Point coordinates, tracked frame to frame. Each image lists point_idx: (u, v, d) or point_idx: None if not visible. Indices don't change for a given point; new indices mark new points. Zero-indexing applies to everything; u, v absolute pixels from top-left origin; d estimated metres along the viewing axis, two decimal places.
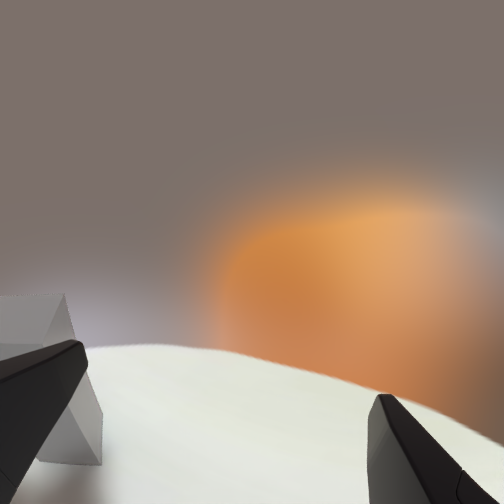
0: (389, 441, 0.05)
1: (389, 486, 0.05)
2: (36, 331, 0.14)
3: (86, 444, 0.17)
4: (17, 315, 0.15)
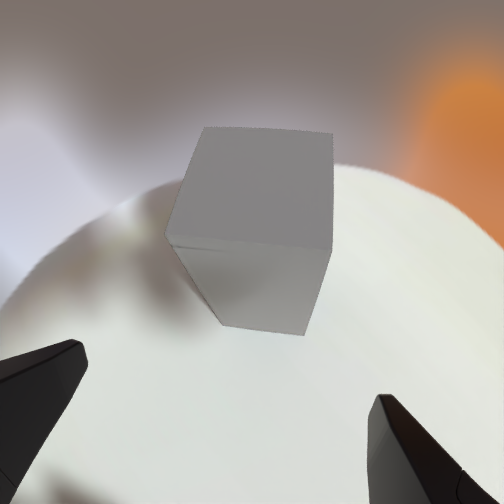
0: (389, 441, 0.05)
1: (389, 486, 0.05)
2: (310, 217, 0.11)
3: (304, 324, 0.19)
4: (258, 173, 0.12)
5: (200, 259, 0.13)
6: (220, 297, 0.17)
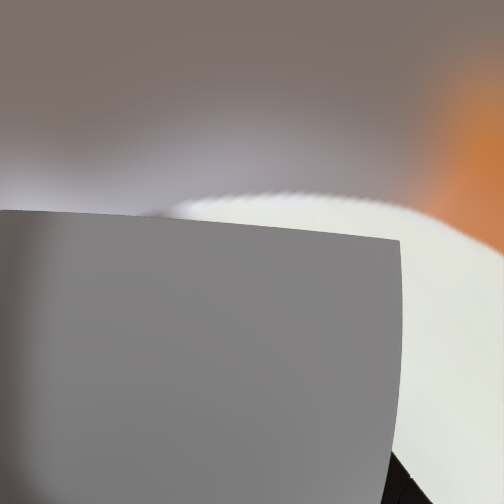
0: None
1: None
2: None
3: None
4: (74, 458, 0.02)
5: None
6: None
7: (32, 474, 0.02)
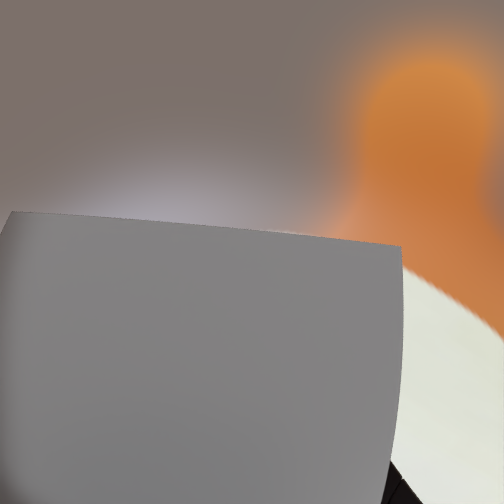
0: None
1: None
2: None
3: None
4: (89, 454, 0.02)
5: None
6: None
7: (45, 471, 0.02)
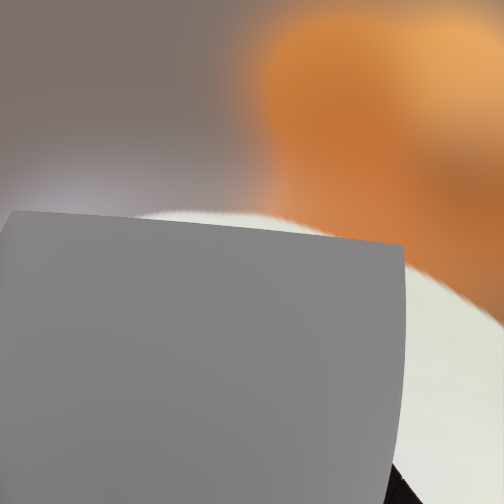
0: None
1: None
2: None
3: None
4: (90, 454, 0.02)
5: None
6: None
7: (46, 471, 0.02)
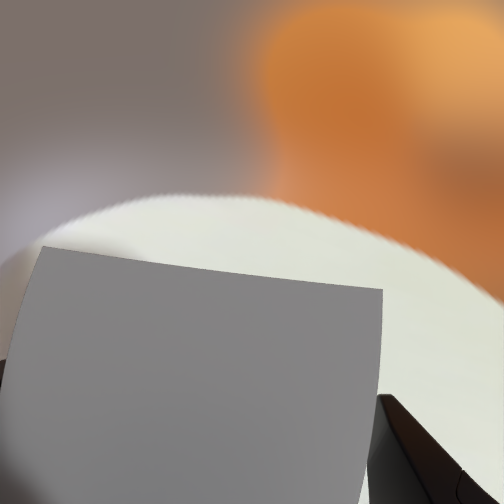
0: (389, 441, 0.05)
1: (389, 486, 0.05)
2: None
3: None
4: (138, 455, 0.03)
5: None
6: None
7: (98, 472, 0.03)
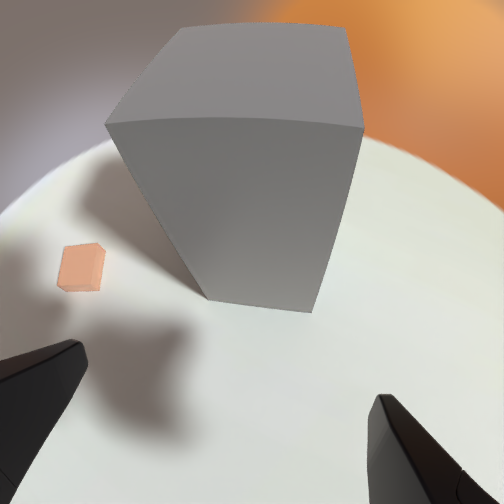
0: (389, 441, 0.05)
1: (389, 486, 0.05)
2: (325, 90, 0.06)
3: (313, 293, 0.14)
4: (247, 54, 0.07)
5: (159, 171, 0.08)
6: (197, 249, 0.12)
7: (222, 62, 0.07)
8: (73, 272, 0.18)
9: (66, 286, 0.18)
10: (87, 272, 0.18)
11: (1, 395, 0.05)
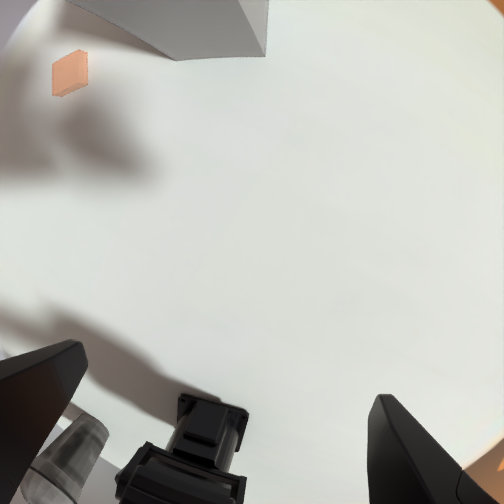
0: (389, 441, 0.05)
1: (389, 486, 0.05)
2: None
3: (253, 38, 0.13)
4: None
5: None
6: (142, 26, 0.11)
7: None
8: (63, 79, 0.18)
9: (60, 92, 0.18)
10: (74, 74, 0.18)
11: (1, 395, 0.05)
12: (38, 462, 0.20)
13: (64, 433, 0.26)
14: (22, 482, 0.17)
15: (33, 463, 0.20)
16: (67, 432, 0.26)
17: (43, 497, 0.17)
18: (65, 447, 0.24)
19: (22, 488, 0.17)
